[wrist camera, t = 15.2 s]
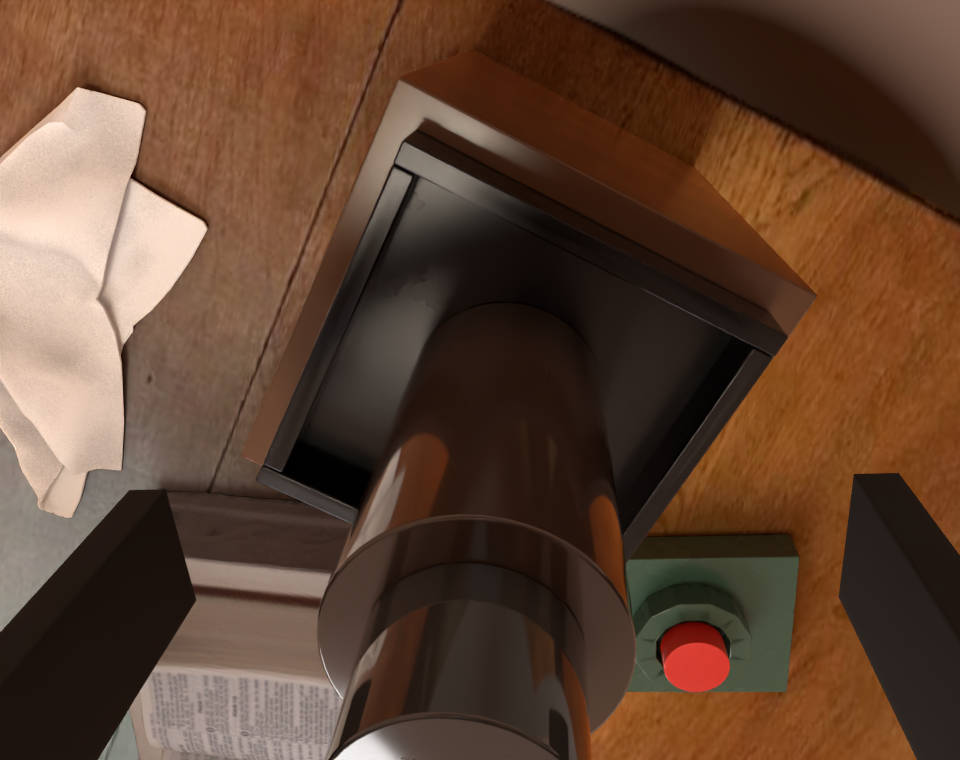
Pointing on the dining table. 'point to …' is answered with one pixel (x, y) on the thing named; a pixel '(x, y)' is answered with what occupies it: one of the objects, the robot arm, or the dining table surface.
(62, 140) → the cloth
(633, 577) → the base
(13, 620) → the robot arm
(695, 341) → the brown pedestal
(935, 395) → the dining table surface
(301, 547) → the bible
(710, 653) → the button
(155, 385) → the dining table surface
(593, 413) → the metal bottle
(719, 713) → the dining table surface
